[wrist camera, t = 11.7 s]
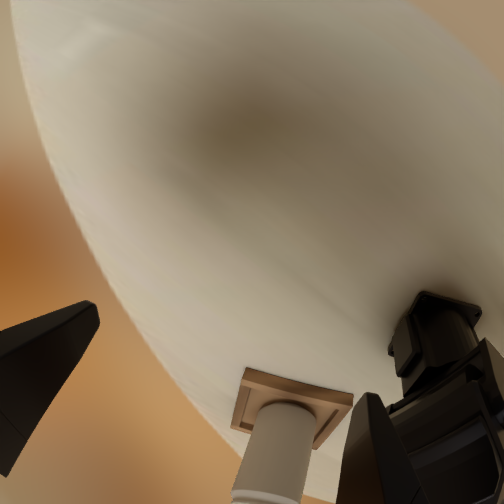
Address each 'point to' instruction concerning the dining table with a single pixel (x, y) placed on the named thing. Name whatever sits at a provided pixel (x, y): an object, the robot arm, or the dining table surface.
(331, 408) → the tray
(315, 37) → the dining table surface
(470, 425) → the robot arm
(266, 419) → the beverage can
